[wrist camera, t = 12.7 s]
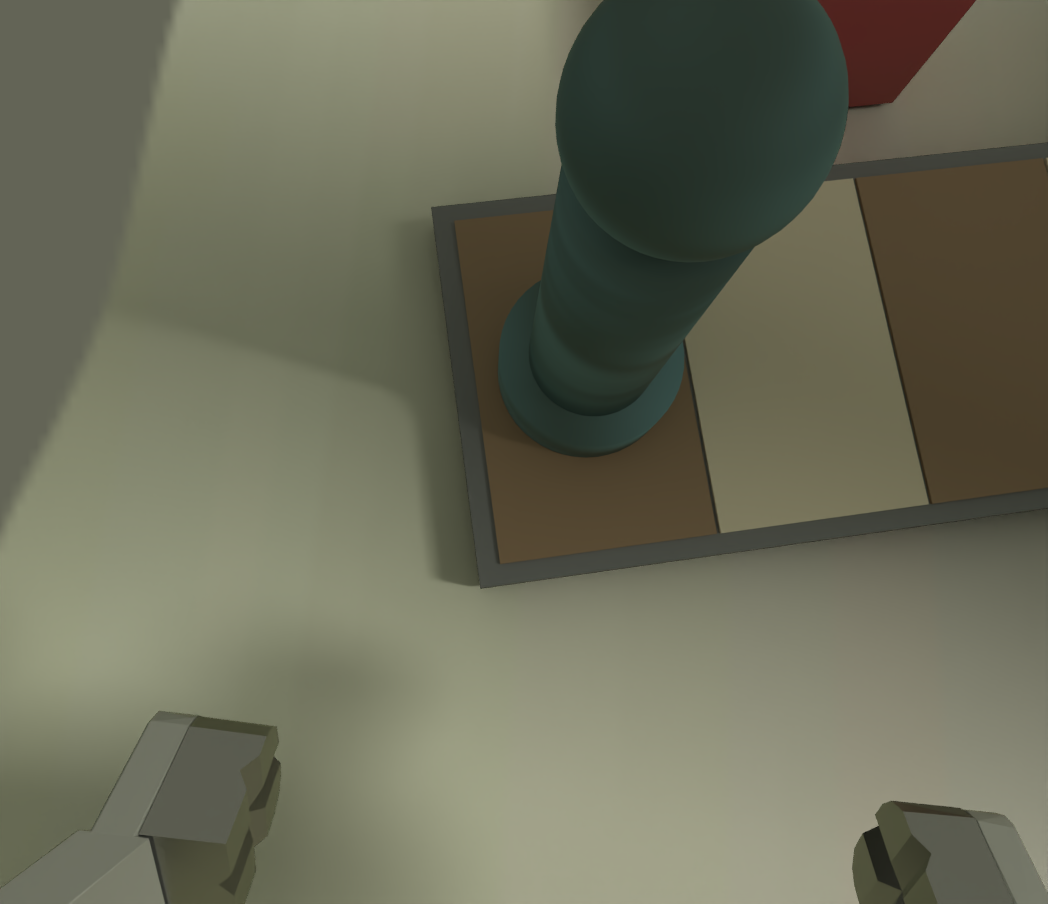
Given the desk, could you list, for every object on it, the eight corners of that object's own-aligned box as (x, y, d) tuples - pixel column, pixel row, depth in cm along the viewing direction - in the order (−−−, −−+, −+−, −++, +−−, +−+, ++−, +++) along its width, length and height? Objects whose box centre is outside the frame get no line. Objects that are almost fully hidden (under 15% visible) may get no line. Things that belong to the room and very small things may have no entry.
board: (1206, 141, 23) (1238, 120, 22) (1313, 470, 22) (1352, 464, 21) (433, 223, 22) (431, 205, 21) (480, 588, 20) (480, 587, 19)
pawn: (654, 281, 21) (903, -184, 8) (683, 445, 20) (1004, 194, 8) (487, 300, 20) (492, -157, 8) (510, 468, 20) (555, 244, 7)
